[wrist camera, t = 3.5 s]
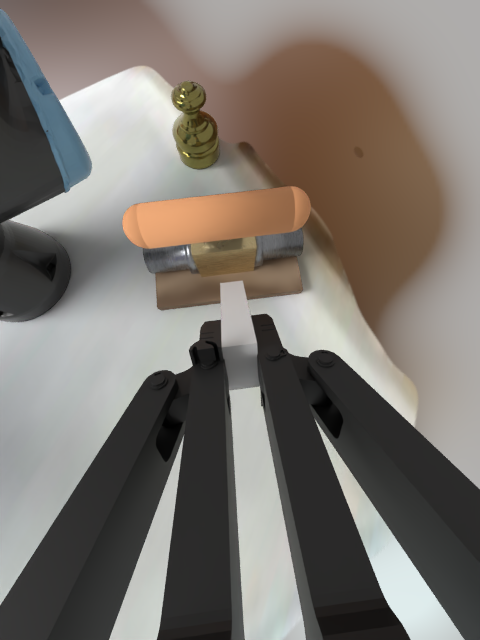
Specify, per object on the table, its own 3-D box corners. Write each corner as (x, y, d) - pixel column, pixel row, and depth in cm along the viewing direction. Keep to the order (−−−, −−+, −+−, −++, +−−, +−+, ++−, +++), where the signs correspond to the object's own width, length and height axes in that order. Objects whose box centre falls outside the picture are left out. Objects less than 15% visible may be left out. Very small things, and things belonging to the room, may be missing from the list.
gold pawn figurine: (172, 146, 41) (150, 77, 31) (208, 130, 42) (198, 58, 32) (190, 176, 40) (173, 115, 30) (227, 159, 40) (223, 93, 30)
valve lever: (267, 227, 28) (316, 232, 13) (176, 238, 28) (123, 255, 13) (266, 202, 27) (318, 178, 12) (171, 213, 27) (107, 202, 12)
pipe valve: (300, 293, 35) (319, 270, 27) (160, 310, 35) (135, 292, 26) (285, 214, 38) (298, 172, 30) (156, 229, 38) (131, 191, 29)
